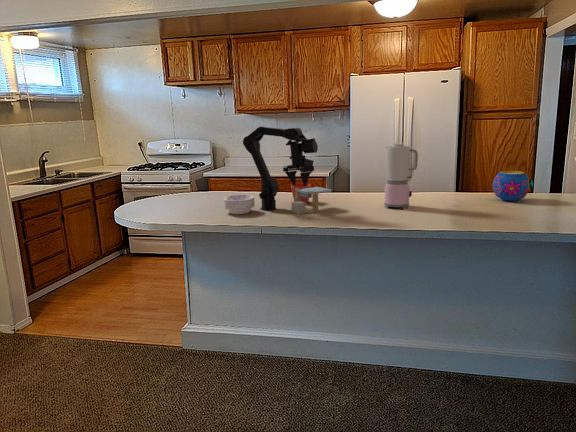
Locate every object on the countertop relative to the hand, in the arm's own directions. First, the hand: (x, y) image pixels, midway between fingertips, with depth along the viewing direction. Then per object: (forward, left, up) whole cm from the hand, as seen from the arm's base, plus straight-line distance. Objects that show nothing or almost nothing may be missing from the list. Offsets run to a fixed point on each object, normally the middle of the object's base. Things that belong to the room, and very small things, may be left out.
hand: (299, 185), depth 218 cm
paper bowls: (-24, +19, -13) cm, 33 cm away
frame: (+5, +1, -13) cm, 14 cm away
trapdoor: (+9, +1, -6) cm, 11 cm away
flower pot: (+14, +19, -13) cm, 27 cm away
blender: (+45, -24, -13) cm, 53 cm away
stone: (-1, 0, -13) cm, 13 cm away
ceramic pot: (+100, -50, -13) cm, 113 cm away
